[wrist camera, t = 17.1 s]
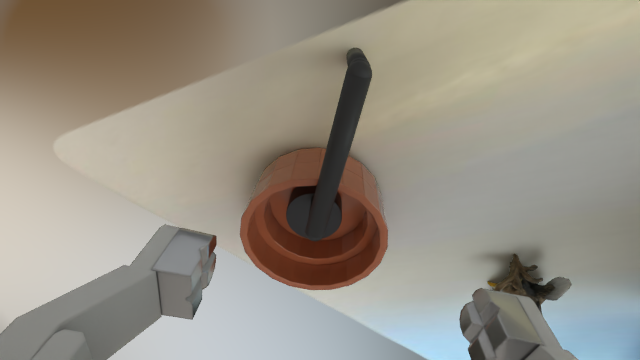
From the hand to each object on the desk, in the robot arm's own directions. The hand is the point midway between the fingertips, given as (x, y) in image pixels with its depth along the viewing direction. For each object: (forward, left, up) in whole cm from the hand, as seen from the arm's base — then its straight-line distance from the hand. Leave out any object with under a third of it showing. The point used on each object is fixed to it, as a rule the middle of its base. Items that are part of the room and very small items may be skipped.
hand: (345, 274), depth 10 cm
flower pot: (0, +10, -17) cm, 20 cm away
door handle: (0, +4, -17) cm, 17 cm away
